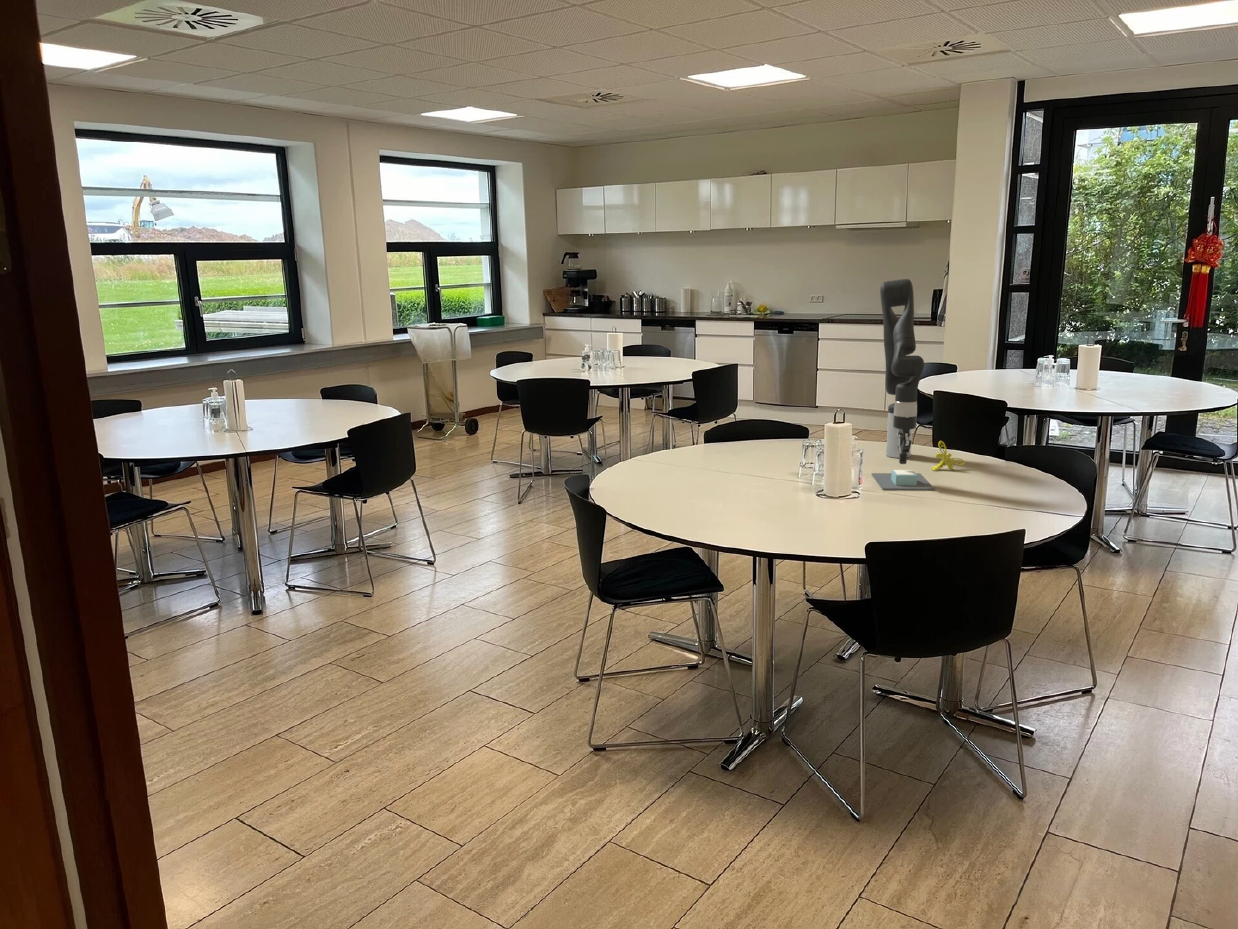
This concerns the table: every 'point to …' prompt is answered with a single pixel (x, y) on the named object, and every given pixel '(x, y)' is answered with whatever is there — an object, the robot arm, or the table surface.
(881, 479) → the mat
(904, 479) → the pale blue block
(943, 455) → the decorative insect
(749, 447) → the table surface
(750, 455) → the table surface
